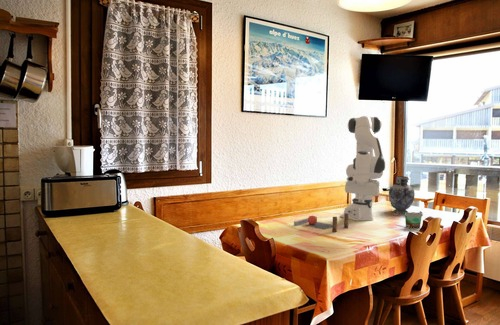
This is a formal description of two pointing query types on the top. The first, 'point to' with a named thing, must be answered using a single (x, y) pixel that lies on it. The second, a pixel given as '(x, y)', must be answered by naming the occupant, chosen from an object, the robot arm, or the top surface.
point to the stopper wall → (301, 221)
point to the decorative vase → (401, 195)
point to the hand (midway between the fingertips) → (361, 201)
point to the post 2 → (346, 220)
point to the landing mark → (320, 225)
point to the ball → (312, 220)
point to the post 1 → (334, 224)
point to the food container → (413, 219)
